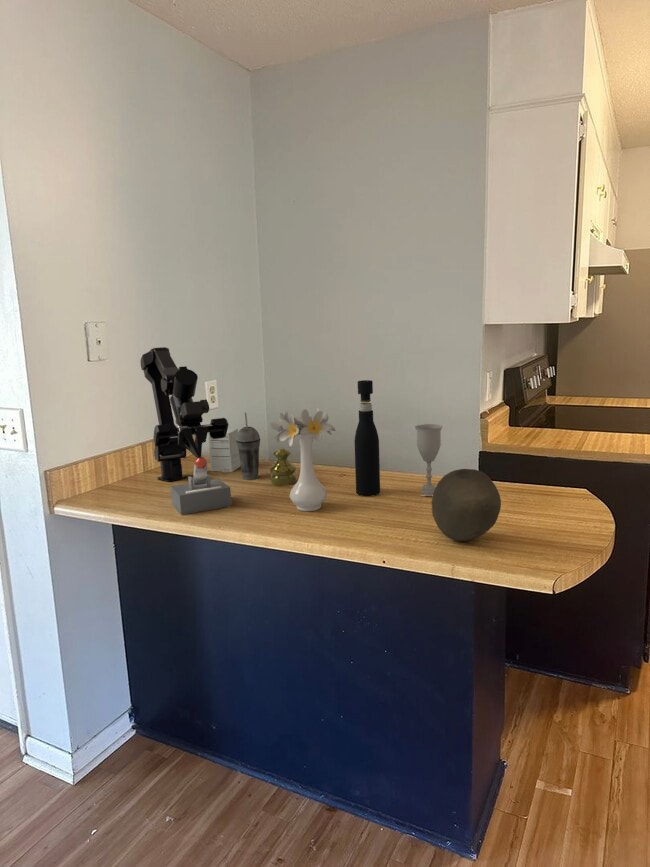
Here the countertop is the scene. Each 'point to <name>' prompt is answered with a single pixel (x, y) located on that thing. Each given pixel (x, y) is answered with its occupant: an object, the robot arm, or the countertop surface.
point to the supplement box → (224, 452)
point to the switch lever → (200, 471)
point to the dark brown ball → (465, 504)
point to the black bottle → (366, 445)
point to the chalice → (428, 450)
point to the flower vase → (304, 455)
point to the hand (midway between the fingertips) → (199, 457)
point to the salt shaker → (283, 469)
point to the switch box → (200, 496)
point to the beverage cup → (248, 451)
